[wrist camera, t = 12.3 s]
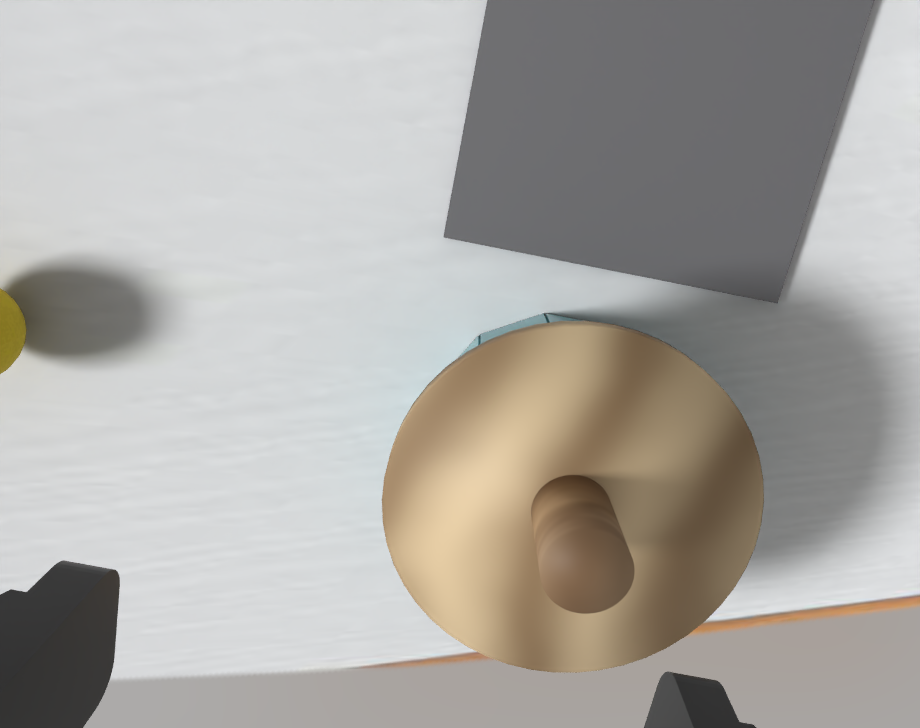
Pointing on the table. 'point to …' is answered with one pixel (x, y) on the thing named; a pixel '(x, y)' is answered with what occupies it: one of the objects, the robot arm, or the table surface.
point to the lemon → (10, 331)
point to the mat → (653, 133)
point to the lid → (572, 497)
